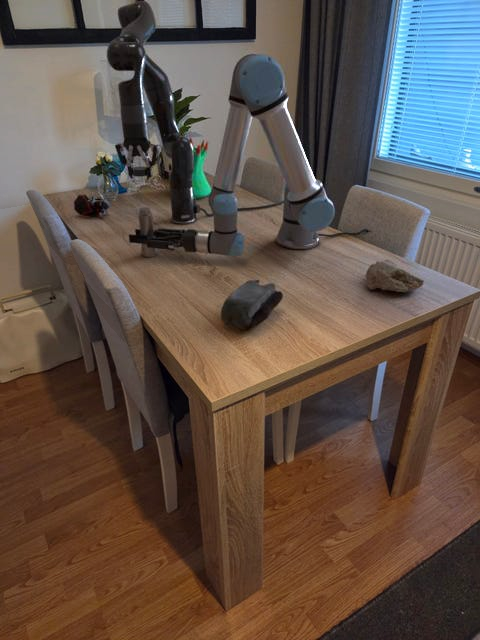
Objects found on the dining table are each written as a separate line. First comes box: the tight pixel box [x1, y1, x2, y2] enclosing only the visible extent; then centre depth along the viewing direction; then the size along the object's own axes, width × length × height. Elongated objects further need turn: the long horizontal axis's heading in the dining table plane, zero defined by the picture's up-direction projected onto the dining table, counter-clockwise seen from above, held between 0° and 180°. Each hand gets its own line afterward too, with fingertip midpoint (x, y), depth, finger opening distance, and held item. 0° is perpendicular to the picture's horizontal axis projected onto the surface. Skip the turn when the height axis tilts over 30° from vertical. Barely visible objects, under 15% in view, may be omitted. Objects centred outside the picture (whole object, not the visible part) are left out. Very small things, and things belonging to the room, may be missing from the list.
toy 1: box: [73, 194, 111, 220], centre depth 187 cm, size 12×9×15 cm
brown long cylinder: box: [138, 206, 157, 258], centre depth 151 cm, size 4×4×16 cm
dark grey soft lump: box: [220, 279, 284, 332], centre depth 117 cm, size 18×11×8 cm, turn 152°
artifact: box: [365, 259, 424, 293], centre depth 134 cm, size 18×8×15 cm
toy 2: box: [168, 137, 212, 200], centre depth 210 cm, size 20×20×25 cm
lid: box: [132, 165, 147, 177], centre depth 140 cm, size 5×5×2 cm
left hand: (141, 178), depth 141 cm, fingers closed on lid, 5 cm apart
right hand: (132, 235), depth 153 cm, fingers closed on brown long cylinder, 4 cm apart
